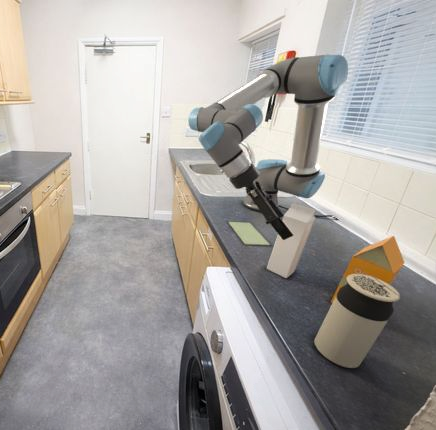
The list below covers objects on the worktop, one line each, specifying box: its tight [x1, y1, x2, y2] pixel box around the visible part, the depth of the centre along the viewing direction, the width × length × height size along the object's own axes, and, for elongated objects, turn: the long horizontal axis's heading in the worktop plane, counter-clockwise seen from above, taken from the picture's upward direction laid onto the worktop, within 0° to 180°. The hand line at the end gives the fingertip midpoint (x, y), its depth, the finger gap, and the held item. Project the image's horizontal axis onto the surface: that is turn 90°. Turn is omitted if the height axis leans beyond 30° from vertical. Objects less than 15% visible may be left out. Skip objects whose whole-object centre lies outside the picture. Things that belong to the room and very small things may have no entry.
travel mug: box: [313, 274, 401, 369], centre depth 53 cm, size 8×8×18 cm
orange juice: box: [330, 235, 405, 304], centre depth 66 cm, size 8×9×20 cm
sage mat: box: [228, 221, 271, 247], centre depth 105 cm, size 9×18×1 cm, turn 177°
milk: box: [266, 202, 316, 279], centre depth 78 cm, size 6×6×22 cm
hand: (283, 226), depth 78 cm, fingers open, 13 cm apart
